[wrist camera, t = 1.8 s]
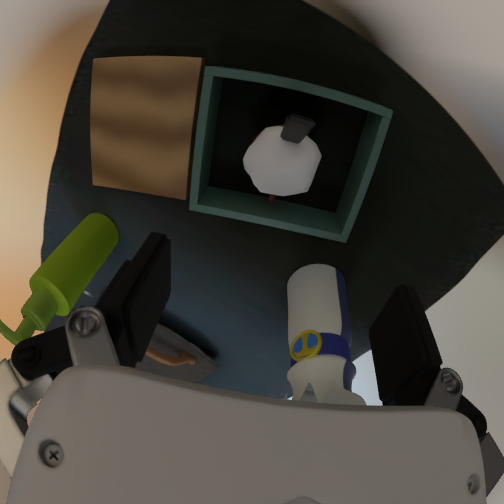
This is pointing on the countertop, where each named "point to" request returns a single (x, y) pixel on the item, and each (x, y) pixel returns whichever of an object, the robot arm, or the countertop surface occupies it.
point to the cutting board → (145, 122)
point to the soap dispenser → (65, 275)
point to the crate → (278, 211)
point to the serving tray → (176, 357)
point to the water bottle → (320, 337)
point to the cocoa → (283, 158)
